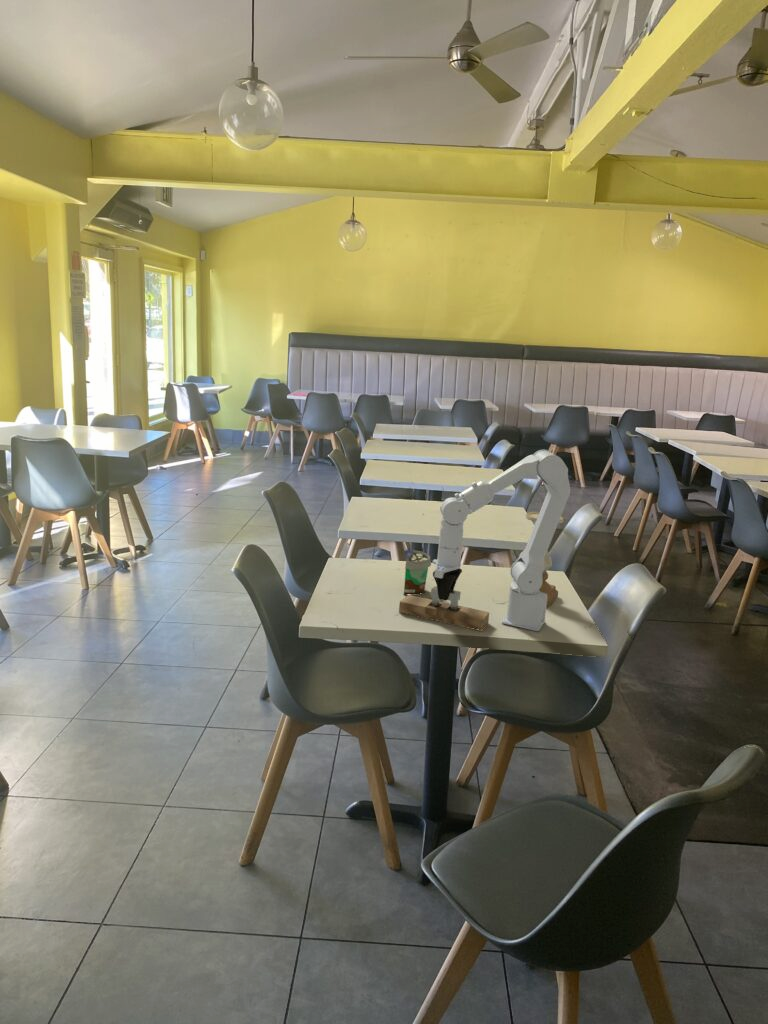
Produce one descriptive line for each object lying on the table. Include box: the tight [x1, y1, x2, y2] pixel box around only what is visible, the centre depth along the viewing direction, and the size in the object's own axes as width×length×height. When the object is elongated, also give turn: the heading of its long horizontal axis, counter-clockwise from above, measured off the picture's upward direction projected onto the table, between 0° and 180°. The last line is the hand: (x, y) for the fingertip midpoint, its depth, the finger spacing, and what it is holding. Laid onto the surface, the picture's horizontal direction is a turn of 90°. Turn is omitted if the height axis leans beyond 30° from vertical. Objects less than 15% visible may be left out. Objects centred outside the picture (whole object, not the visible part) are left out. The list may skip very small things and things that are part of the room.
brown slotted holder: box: [398, 595, 490, 631], centre depth 184 cm, size 22×6×3 cm, turn 66°
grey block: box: [430, 585, 462, 612], centre depth 184 cm, size 7×2×6 cm, turn 66°
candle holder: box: [525, 511, 564, 608], centre depth 202 cm, size 11×11×24 cm
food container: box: [403, 549, 432, 595], centre depth 202 cm, size 12×6×10 cm, turn 168°
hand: (445, 597), depth 183 cm, fingers closed on grey block, 2 cm apart
